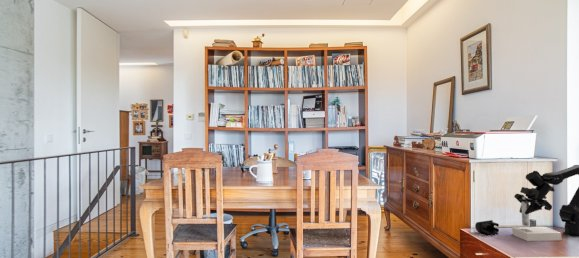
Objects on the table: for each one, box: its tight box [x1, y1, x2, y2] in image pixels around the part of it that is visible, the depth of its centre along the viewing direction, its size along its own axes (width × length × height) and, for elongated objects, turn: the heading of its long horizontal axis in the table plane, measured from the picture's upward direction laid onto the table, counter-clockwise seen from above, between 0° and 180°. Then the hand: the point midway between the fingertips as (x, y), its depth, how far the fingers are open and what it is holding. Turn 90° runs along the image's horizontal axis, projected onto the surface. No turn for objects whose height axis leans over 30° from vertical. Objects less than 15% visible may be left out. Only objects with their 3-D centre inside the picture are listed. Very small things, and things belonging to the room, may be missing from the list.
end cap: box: [474, 219, 500, 237], centre depth 177 cm, size 10×7×7 cm
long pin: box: [520, 202, 530, 227], centre depth 168 cm, size 3×3×12 cm
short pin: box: [529, 218, 537, 227], centre depth 177 cm, size 3×3×7 cm
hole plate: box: [511, 226, 563, 242], centre depth 168 cm, size 18×11×4 cm, turn 89°
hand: (522, 213), depth 168 cm, fingers closed on long pin, 3 cm apart
